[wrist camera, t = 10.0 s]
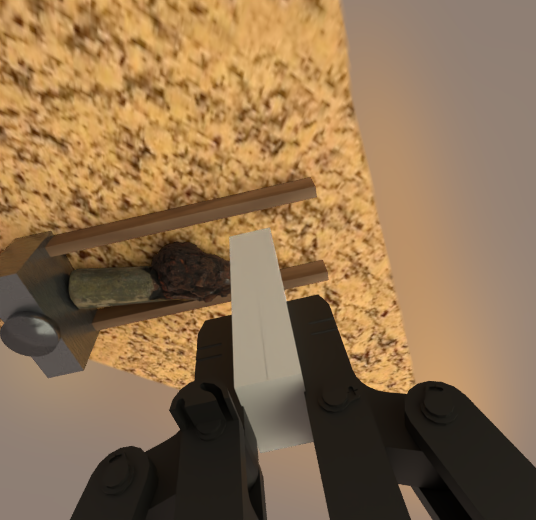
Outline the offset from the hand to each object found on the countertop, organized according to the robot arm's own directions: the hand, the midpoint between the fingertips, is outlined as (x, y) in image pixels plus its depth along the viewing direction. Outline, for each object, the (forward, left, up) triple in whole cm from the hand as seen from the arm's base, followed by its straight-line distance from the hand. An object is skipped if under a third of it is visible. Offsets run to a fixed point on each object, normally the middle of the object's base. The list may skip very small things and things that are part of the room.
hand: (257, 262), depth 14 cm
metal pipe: (+14, -13, -26) cm, 32 cm away
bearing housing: (+14, -24, -26) cm, 38 cm away
